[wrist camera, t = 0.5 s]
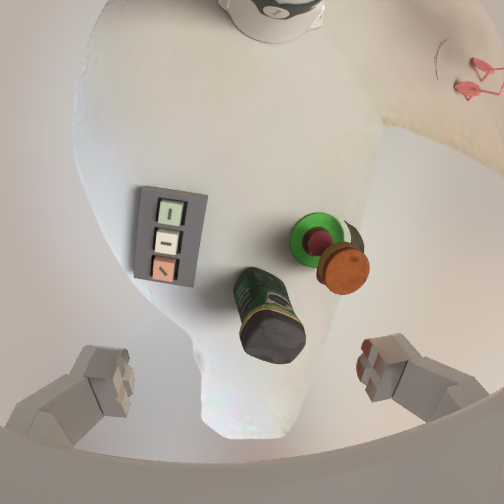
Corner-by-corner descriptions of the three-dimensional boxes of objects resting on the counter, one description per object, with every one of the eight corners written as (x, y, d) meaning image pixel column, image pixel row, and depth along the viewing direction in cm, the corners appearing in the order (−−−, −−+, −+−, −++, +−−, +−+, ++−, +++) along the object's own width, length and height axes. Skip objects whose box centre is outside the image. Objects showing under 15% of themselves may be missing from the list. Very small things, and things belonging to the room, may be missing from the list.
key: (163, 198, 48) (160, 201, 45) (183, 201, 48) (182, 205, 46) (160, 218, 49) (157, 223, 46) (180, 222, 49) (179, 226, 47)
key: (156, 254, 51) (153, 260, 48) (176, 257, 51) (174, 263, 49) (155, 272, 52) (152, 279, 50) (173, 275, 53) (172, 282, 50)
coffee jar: (227, 294, 58) (232, 356, 41) (247, 260, 56) (261, 315, 39) (269, 313, 61) (288, 375, 43) (290, 282, 59) (318, 338, 41)
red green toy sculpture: (285, 274, 58) (306, 316, 44) (288, 209, 53) (314, 235, 39) (342, 271, 59) (375, 309, 45) (349, 210, 55) (389, 235, 41)
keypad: (146, 185, 49) (141, 189, 46) (208, 195, 51) (207, 199, 48) (138, 270, 54) (133, 277, 51) (194, 279, 56) (193, 287, 53)
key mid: (159, 227, 49) (156, 232, 47) (179, 230, 50) (177, 235, 47) (157, 246, 50) (154, 252, 48) (177, 249, 51) (175, 255, 49)
